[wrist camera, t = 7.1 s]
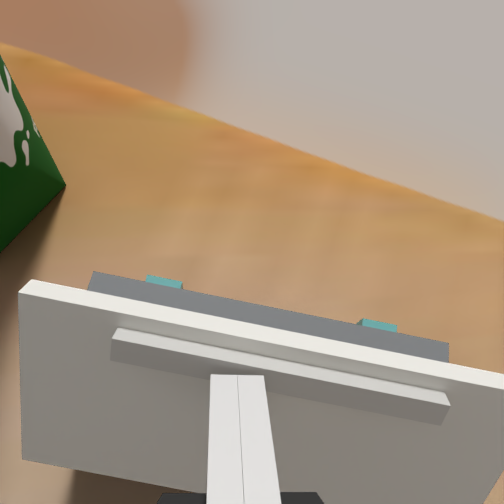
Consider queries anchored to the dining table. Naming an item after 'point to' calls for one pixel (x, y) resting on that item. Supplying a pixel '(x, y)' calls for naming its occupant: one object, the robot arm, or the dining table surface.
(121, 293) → the stand
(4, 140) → the milk carton
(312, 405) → the cover
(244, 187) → the dining table surface
